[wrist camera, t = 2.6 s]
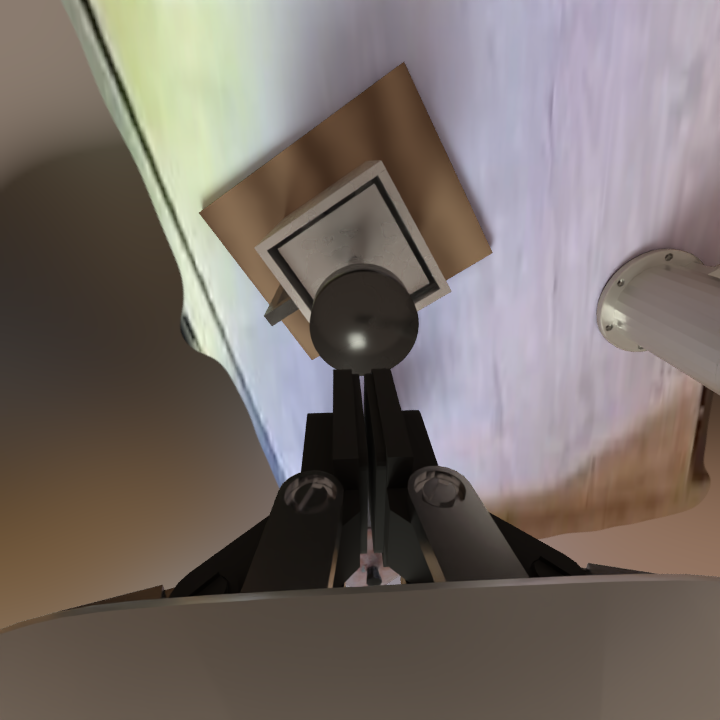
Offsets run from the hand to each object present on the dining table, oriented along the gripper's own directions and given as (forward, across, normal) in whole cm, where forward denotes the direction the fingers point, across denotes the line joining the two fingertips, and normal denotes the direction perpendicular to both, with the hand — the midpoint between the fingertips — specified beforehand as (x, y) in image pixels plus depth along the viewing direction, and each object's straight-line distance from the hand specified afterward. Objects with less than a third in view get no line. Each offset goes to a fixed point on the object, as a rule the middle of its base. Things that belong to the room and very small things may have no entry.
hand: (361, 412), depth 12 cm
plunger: (+20, -1, 0) cm, 20 cm away
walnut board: (+35, -1, 0) cm, 35 cm away
